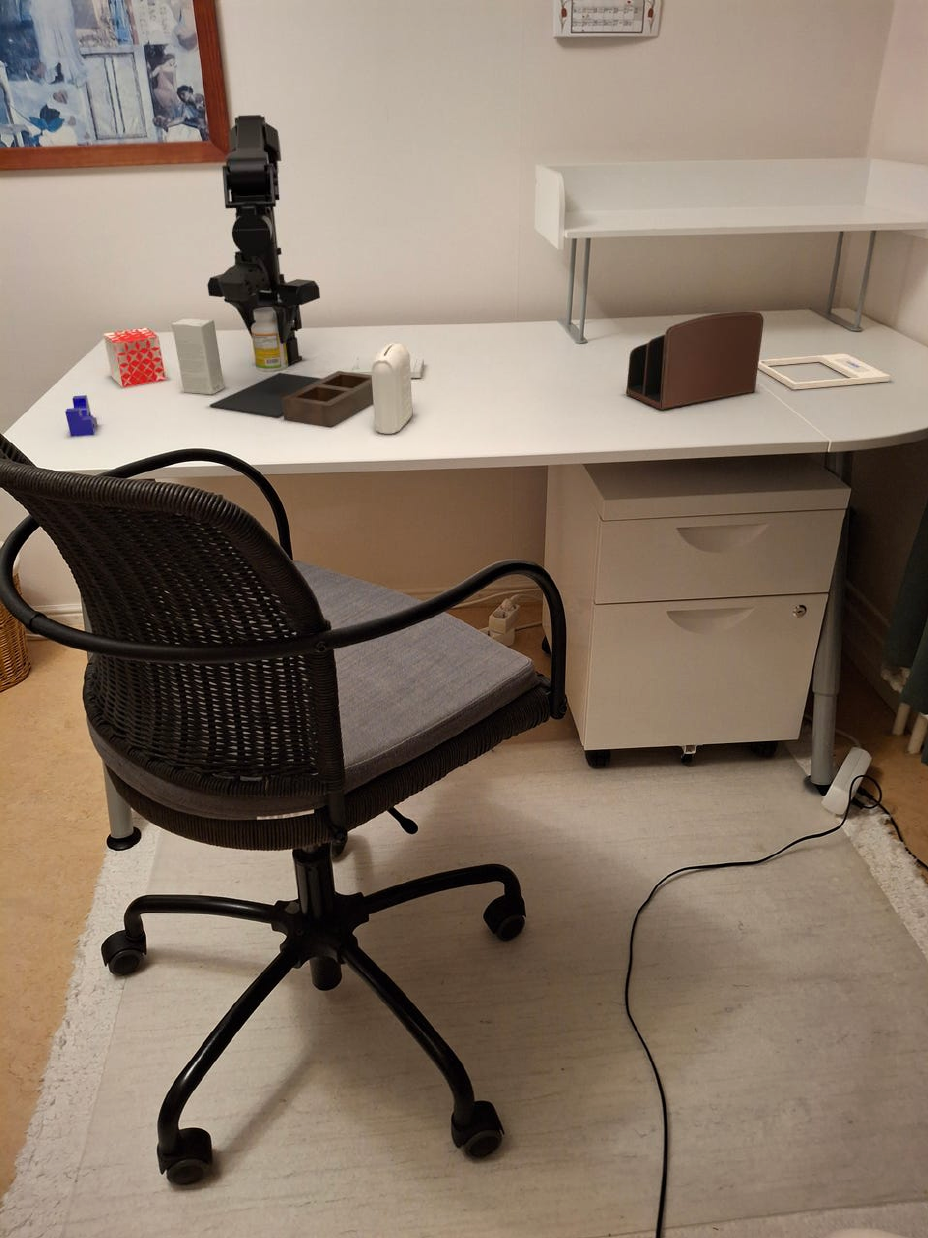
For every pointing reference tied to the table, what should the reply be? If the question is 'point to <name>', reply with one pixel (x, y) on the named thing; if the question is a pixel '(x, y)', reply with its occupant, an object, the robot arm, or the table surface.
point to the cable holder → (81, 418)
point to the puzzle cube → (135, 357)
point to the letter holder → (698, 361)
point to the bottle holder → (329, 399)
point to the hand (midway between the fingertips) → (269, 341)
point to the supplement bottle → (268, 341)
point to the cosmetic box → (198, 356)
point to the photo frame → (838, 362)
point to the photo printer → (391, 388)
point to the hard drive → (366, 364)
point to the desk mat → (265, 395)
